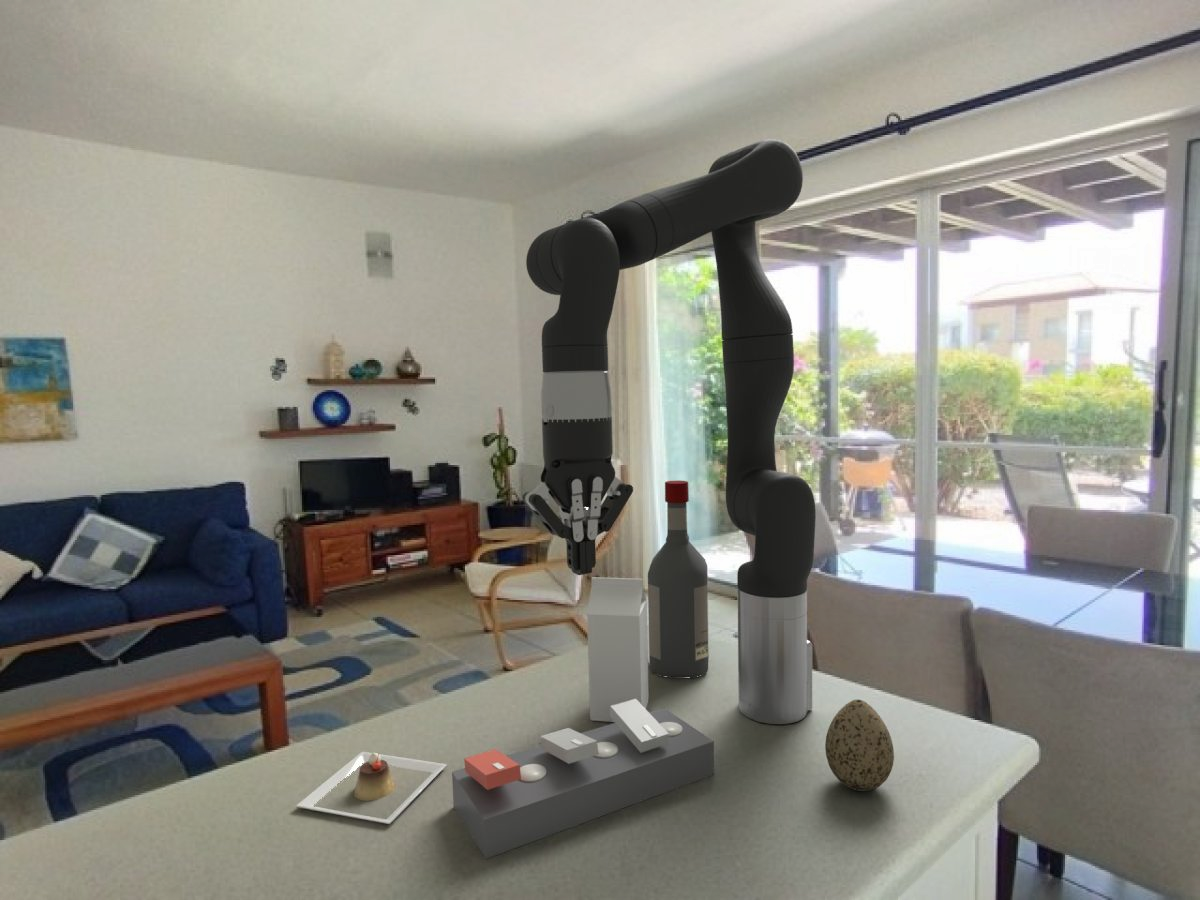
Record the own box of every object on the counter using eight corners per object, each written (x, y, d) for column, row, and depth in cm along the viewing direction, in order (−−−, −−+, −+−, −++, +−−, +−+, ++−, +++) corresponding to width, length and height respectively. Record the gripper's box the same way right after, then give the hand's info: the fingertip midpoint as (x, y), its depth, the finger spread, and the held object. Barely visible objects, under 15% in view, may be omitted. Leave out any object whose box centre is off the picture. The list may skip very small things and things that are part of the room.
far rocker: (634, 708, 86) (636, 697, 86) (667, 744, 80) (668, 732, 80) (609, 716, 84) (610, 705, 84) (640, 752, 78) (642, 741, 78)
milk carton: (641, 725, 94) (638, 586, 92) (589, 721, 96) (585, 584, 94) (648, 701, 101) (646, 572, 99) (600, 698, 102) (596, 570, 101)
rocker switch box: (665, 737, 91) (664, 706, 90) (714, 774, 82) (713, 739, 81) (453, 806, 77) (451, 770, 76) (485, 858, 68) (483, 817, 68)
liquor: (648, 677, 109) (644, 486, 107) (653, 655, 118) (650, 478, 116) (708, 680, 108) (705, 486, 105) (708, 657, 117) (706, 478, 114)
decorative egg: (815, 791, 78) (815, 704, 77) (837, 762, 84) (837, 681, 83) (882, 813, 74) (883, 722, 73) (901, 782, 79) (902, 696, 78)
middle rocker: (570, 740, 82) (568, 726, 82) (598, 754, 76) (596, 739, 76) (541, 748, 80) (540, 735, 80) (568, 763, 74) (567, 748, 74)
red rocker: (497, 762, 77) (495, 748, 77) (521, 779, 71) (519, 763, 71) (465, 771, 76) (463, 757, 76) (487, 789, 69) (485, 774, 70)
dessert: (390, 833, 73) (387, 790, 73) (294, 815, 77) (292, 773, 76) (447, 772, 85) (446, 734, 84) (362, 759, 88) (360, 723, 88)
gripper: (612, 411, 82) (615, 557, 84) (506, 416, 76) (512, 574, 77) (647, 412, 75) (651, 571, 77) (534, 418, 69) (541, 591, 71)
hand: (581, 572), depth 77 cm, fingers closed
